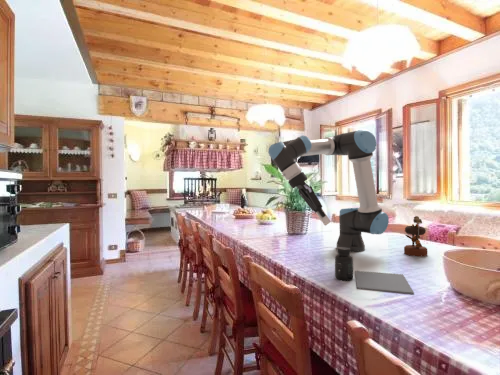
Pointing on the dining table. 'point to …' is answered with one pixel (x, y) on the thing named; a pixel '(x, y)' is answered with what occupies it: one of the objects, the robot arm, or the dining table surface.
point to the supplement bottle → (343, 264)
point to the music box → (415, 239)
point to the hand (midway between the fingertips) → (327, 223)
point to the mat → (382, 282)
